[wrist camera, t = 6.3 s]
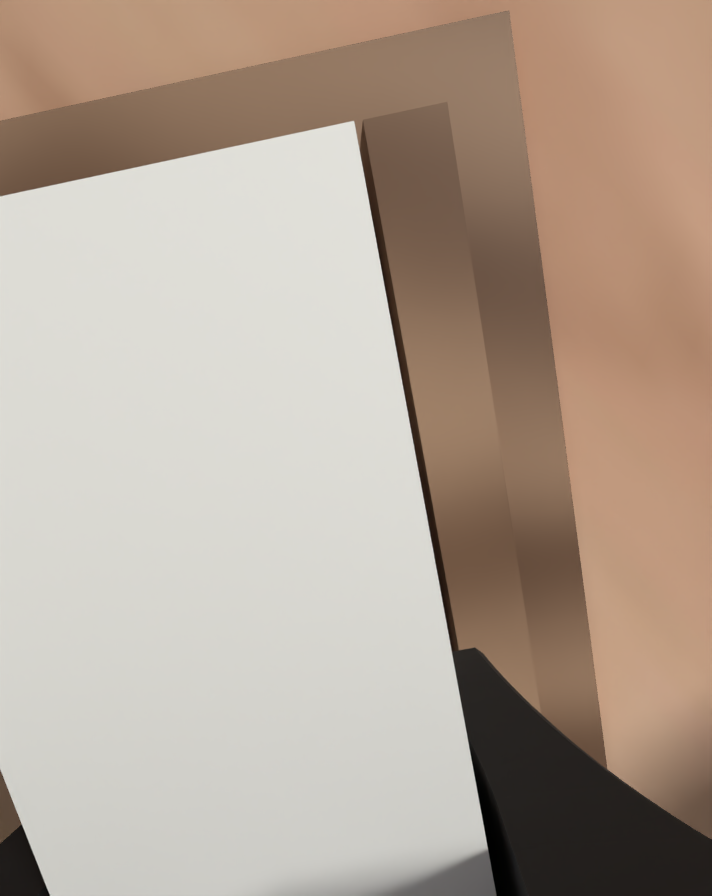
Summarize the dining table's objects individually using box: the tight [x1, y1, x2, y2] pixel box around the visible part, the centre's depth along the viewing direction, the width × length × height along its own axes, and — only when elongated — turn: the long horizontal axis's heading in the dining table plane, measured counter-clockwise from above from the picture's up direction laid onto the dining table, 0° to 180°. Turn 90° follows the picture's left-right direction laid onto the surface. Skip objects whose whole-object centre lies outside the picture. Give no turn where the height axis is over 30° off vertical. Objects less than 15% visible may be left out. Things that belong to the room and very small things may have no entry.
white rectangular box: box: [0, 121, 496, 896], centre depth 10 cm, size 14×4×8 cm, turn 11°
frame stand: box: [0, 11, 607, 769], centre depth 15 cm, size 22×12×3 cm, turn 11°
